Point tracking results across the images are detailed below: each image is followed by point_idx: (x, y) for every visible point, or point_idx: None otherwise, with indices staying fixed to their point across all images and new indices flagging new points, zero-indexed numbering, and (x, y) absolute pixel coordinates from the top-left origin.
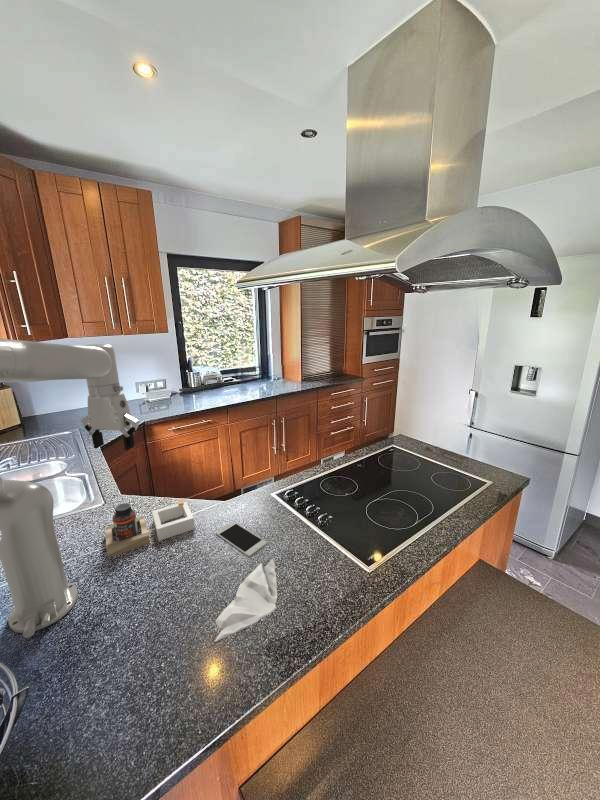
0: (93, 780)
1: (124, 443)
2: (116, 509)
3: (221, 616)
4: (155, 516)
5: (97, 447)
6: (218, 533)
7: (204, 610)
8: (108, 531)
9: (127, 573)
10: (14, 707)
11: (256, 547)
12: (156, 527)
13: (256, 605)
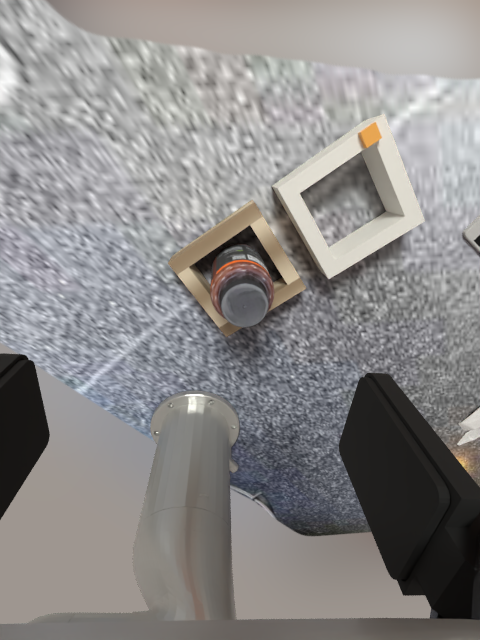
0: (364, 528)
1: (368, 511)
2: (232, 322)
3: (470, 422)
4: (302, 219)
5: (46, 433)
6: (472, 237)
7: (442, 410)
8: (188, 279)
9: (290, 359)
10: (261, 504)
11: None
12: (324, 271)
13: None
